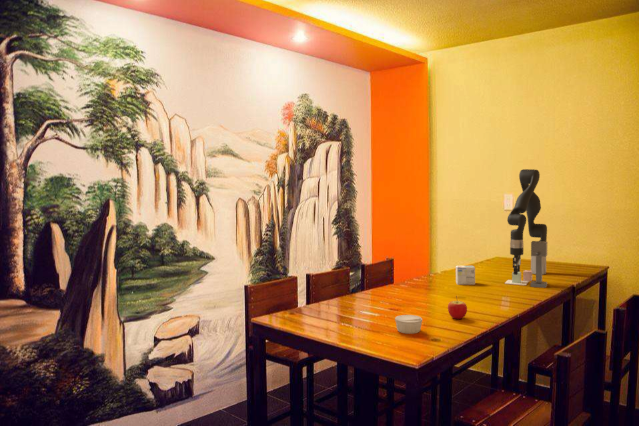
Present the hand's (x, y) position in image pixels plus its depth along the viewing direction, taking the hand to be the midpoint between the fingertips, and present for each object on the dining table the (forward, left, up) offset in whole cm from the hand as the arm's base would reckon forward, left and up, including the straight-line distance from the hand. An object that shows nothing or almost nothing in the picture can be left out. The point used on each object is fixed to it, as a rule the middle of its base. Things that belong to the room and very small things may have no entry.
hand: (516, 273), depth 305 cm
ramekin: (+125, -24, -6) cm, 128 cm away
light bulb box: (+16, -27, -6) cm, 32 cm away
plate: (0, 0, -6) cm, 6 cm away
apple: (+97, -11, -6) cm, 98 cm away
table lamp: (+5, +13, -6) cm, 15 cm away
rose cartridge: (-10, +5, -6) cm, 12 cm away
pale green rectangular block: (0, 0, -5) cm, 5 cm away
